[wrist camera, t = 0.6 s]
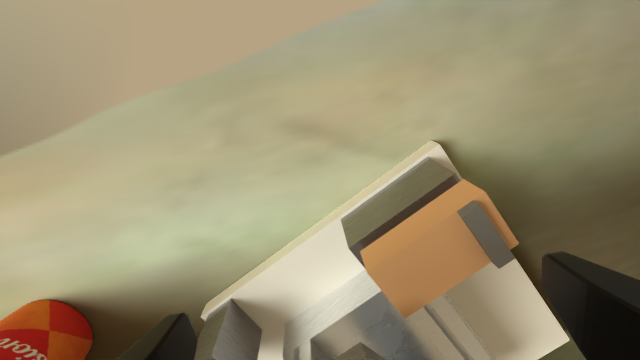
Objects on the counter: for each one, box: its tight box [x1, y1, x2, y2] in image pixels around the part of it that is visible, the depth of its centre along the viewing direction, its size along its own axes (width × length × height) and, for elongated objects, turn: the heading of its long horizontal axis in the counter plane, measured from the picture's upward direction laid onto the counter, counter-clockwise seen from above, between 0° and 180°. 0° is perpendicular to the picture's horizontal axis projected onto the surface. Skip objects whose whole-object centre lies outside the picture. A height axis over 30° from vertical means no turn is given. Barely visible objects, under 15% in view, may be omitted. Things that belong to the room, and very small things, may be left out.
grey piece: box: [194, 157, 496, 360], centre depth 21 cm, size 18×16×5 cm
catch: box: [360, 179, 519, 318], centre depth 16 cm, size 6×3×3 cm, turn 127°
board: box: [201, 140, 570, 360], centre depth 25 cm, size 19×18×2 cm
